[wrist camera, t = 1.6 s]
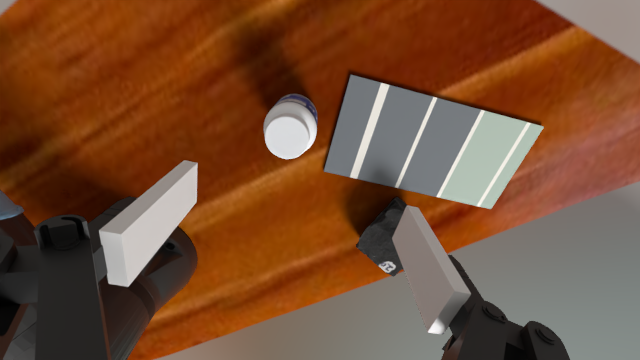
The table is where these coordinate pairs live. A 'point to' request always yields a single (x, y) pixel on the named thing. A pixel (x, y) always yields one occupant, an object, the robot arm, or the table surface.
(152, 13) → the table surface
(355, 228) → the table surface
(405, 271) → the robot arm
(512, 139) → the lane
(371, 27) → the table surface
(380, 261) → the rock
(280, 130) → the pill bottle
